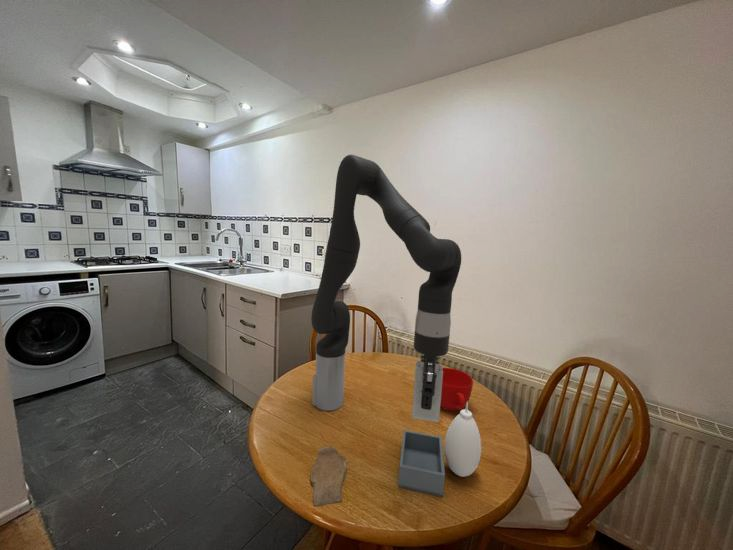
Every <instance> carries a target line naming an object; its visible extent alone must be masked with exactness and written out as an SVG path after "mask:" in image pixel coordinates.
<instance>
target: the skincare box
mask: <svg viewBox="0 0 733 550" xmlns="http://www.w3.org/2000/svg"><path fill="white" fill-rule="evenodd" d="M442 368H443V365H442V363H439V369H438V371H437V382H436V384H435V390H434V392H435V395H434V396H432V406H431V410H427V409H422V408H421V400H422V393H421V389H422V382H421V380H420V378H421V367H420V361H418V360H416V361H415V366H414V381H413V384H414V385H413V397H412V398H413V399H412V408H411V409H412V411H411V418H412V419H414V420H421V421H426V422H427V421H428V422H433V423H439V422H440V413H441V406H440V403H441V392H442V379H443V369H442ZM423 373H424V371H423ZM434 373H435V372H434ZM423 377H424V375H423ZM426 388H427V387H426Z"/></svg>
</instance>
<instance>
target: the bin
mask: <svg viewBox="0 0 733 550" xmlns="http://www.w3.org/2000/svg"><path fill="white" fill-rule="evenodd" d="M442 439H443V438H442V436H439V435H435V434H434V435H433V434H429V433H424V432H423V433H422V432H417V431H412V430H406V429H403V433H402V441H401V450H400V457H399V458H400V459H399V471H398V482H397V483H398V484H397V487H398V488H401V489H406V490H410V491H414V492H419V493H424V494H429V495H432V496H437V497H440V498H441V497H443V498H444V489H445V488H444V487H445V479H446V478H445V477H446V473H445V472H446V471H445V463H444V462H445V461H444V449H443V440H442Z"/></svg>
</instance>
